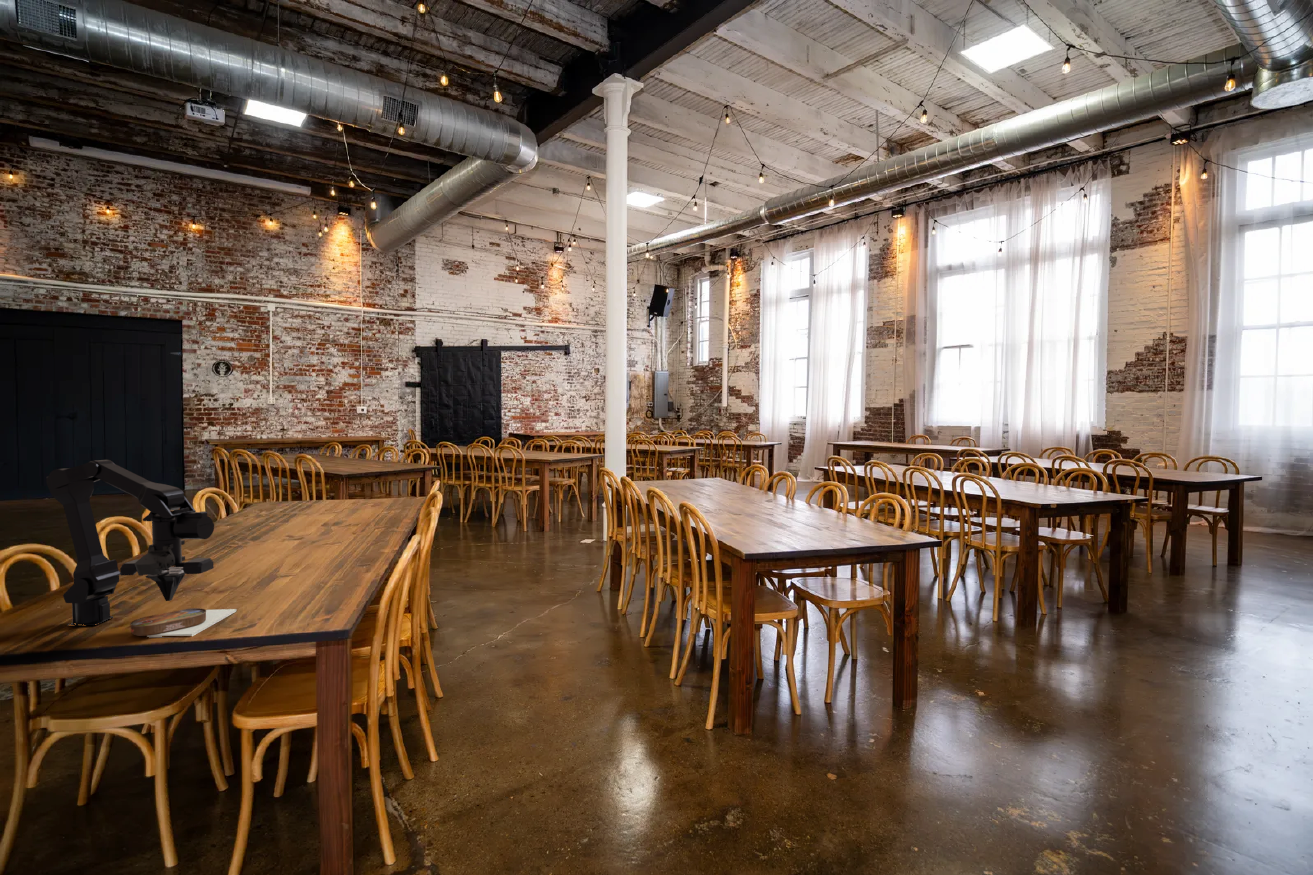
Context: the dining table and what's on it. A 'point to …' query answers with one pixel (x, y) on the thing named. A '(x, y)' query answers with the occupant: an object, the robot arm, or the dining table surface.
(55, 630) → the dining table surface
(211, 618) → the mat
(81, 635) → the dining table surface
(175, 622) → the brown oval food container
